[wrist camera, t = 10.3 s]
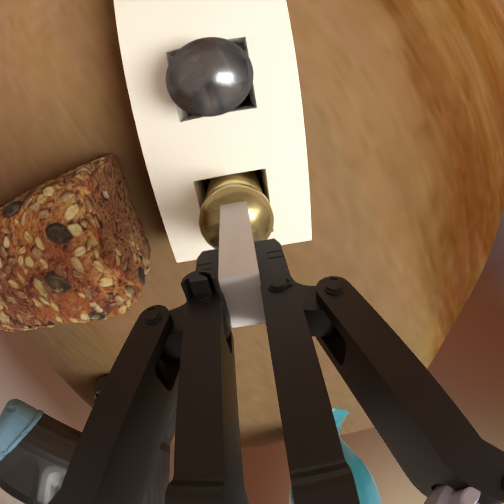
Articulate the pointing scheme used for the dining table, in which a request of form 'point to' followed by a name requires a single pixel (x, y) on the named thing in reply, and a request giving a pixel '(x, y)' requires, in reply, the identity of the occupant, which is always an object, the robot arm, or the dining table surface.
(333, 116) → the dining table surface
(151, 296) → the dining table surface
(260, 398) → the dining table surface
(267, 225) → the brass plug
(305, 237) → the slab
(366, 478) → the vase
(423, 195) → the dining table surface
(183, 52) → the grey plug
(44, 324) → the bread
